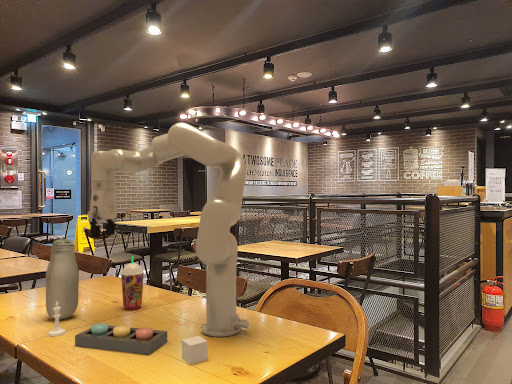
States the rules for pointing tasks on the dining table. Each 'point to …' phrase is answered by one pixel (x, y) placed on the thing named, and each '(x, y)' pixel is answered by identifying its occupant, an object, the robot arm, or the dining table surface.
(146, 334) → the brick button
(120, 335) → the mustard button
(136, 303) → the smoothie
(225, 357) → the dining table surface
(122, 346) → the button panel
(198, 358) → the white cube
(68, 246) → the grey bottle
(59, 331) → the chess piece
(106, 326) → the teal button
